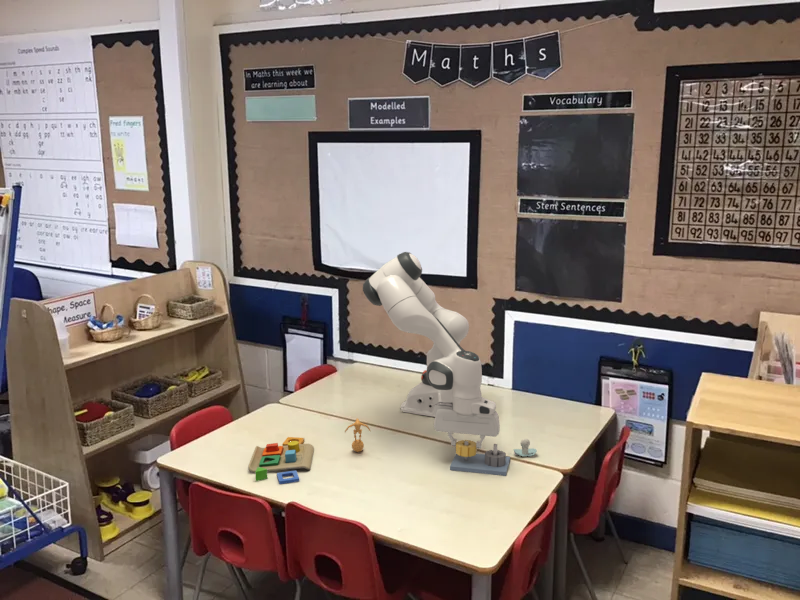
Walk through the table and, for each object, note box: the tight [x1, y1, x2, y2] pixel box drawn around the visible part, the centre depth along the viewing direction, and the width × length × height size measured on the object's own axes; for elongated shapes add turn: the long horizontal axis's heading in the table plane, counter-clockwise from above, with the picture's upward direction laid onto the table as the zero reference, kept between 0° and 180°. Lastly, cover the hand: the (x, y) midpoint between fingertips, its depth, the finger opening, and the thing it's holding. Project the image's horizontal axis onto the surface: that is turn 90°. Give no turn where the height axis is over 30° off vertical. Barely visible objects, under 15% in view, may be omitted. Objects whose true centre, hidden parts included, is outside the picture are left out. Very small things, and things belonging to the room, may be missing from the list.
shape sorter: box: [247, 436, 315, 485], centre depth 223 cm, size 34×19×5 cm, turn 3°
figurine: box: [344, 418, 371, 453], centre depth 228 cm, size 8×6×12 cm
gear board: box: [449, 440, 511, 477], centre depth 219 cm, size 17×12×7 cm
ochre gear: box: [455, 439, 478, 457], centre depth 220 cm, size 6×6×3 cm
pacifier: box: [513, 438, 537, 458], centre depth 226 cm, size 7×6×6 cm
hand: (466, 446), depth 220 cm, fingers open, 6 cm apart
